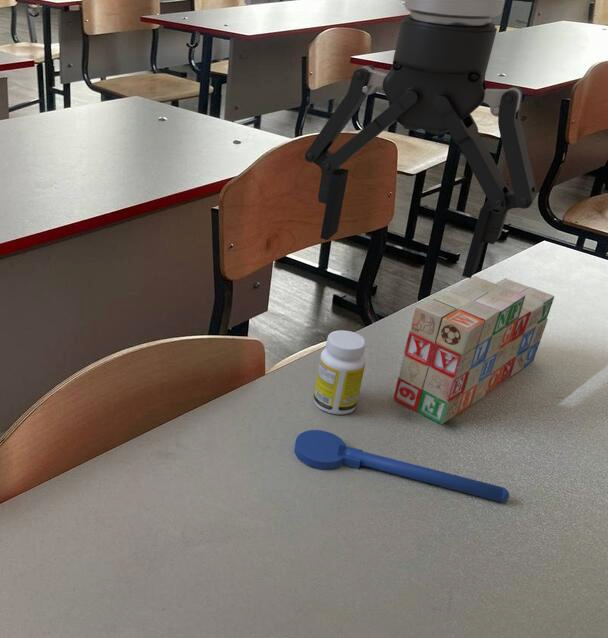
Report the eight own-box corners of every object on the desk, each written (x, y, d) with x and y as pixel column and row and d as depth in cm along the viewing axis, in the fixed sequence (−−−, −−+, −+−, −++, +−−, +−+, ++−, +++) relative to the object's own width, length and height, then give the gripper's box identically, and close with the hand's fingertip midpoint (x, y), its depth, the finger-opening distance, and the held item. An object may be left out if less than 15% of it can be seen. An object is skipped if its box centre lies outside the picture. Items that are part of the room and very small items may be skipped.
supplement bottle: (356, 395, 87) (370, 332, 83) (355, 419, 83) (370, 354, 79) (313, 388, 88) (325, 325, 84) (311, 411, 84) (323, 346, 80)
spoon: (506, 485, 74) (510, 474, 74) (507, 520, 70) (512, 508, 69) (299, 432, 81) (301, 421, 80) (289, 461, 76) (291, 450, 76)
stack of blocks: (486, 341, 98) (513, 254, 92) (534, 362, 94) (565, 273, 88) (391, 399, 86) (415, 304, 80) (441, 426, 82) (470, 328, 76)
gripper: (290, 5, 66) (261, 232, 76) (617, 42, 54) (528, 305, 64) (323, -2, 71) (291, 211, 82) (626, 30, 59) (543, 274, 70)
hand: (396, 253), depth 73 cm, fingers open, 13 cm apart
